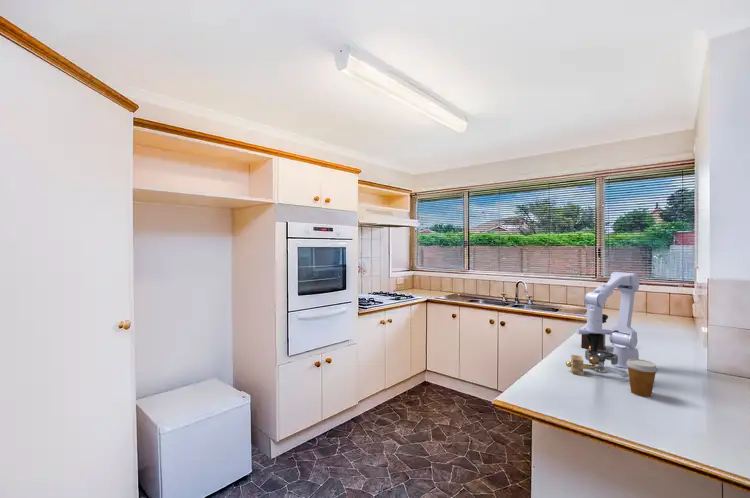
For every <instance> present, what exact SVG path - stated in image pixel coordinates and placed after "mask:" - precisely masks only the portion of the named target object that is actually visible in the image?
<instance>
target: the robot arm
mask: <svg viewBox="0 0 750 498" xmlns="http://www.w3.org/2000/svg"><path fill="white" fill-rule="evenodd" d="M609 278H610V279H609V280H608V281H606V283H601V284H600V285H599V286H598V287H597V288H595V289H594V290H593V291H589V292H587V293H585V294H584V298H583V299H584V300H583V301H584V303H585V309H586V328H585V329H584V328H576V331H575V332H576V334H577V335H582V334H585V335H586V337H587V339H588V341H589V344H590V347H591V350H592V351H597V349H598V346H599V344H600V342H601V340H602V339H603V336H602V334H605V335H606V336H607V335H608V339H609V342H610V343H611V346H613V352H612V353H614V354H616V355H617V356H618V363H617V364H616V365H613V366H614V368H615V367H616V368H622V369H623V368H624V369H628V366H627V364H626V363H627V362H628V360H629V359H639V358H640V356H639V355H640V354H639V353H640V352H639V349H638V348H636V346H637V345H638V332H637V331H636V330H634V329H633V327H632V318H633V311H634V310H633V309H634V300H635V294H636V293H635V292H639V288H640V277H639V275H638V274H637V273H636V272H623V271H622V272H621V271H613V272H612V273H611V274H610V277H609ZM615 289H617V290H619V291H620V292H621V295H620V304H619V309H618V320H617V325H614V326H613V327H611V329H606V328H603V323H602V314H603V307H605V305H606V302H607V300H608V298H609V297H611V296H612V295H613V293H614V291H613V290H615Z"/></svg>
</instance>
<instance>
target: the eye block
mask: <svg viewBox="0 0 750 498" xmlns="http://www.w3.org/2000/svg"><path fill="white" fill-rule="evenodd" d="M570 362H572V367H570V371H571V373H572V375H576V376H584V369H583V364H584V358H583V356H582V355H578V354H576V355H575V354H570Z"/></svg>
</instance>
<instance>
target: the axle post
mask: <svg viewBox="0 0 750 498" xmlns="http://www.w3.org/2000/svg"><path fill="white" fill-rule="evenodd" d="M594 371H596V372H599V373H603V374H604V373H605V374H606V373H609V372H610V371H609V369H607V368H605V361H599V364H598V365H597V366H595V370H594Z"/></svg>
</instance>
